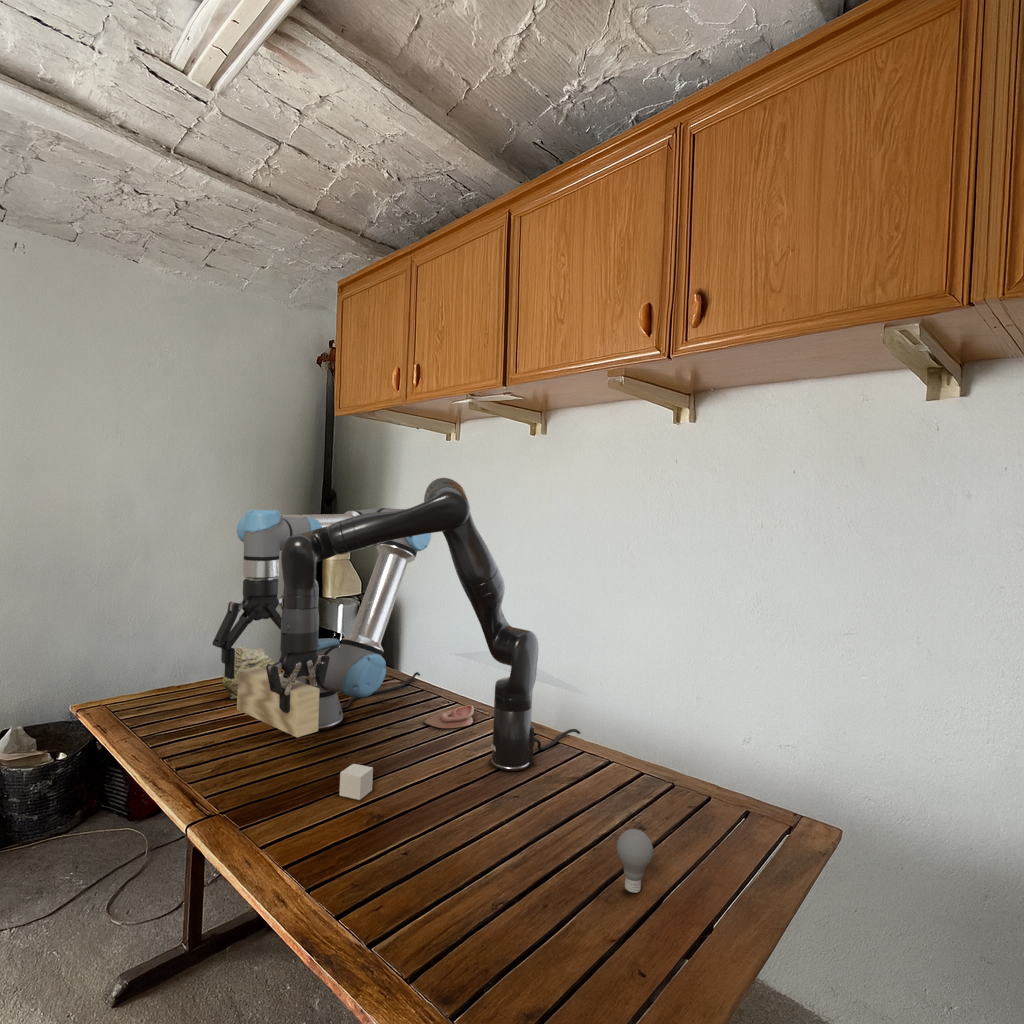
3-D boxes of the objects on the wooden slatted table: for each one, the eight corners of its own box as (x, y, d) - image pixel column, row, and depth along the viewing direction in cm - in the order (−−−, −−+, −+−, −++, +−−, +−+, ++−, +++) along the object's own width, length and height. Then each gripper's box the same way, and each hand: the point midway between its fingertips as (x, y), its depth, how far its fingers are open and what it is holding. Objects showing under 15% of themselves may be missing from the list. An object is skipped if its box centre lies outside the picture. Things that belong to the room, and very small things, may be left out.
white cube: (352, 785, 139) (353, 763, 139) (372, 790, 138) (373, 767, 138) (339, 795, 135) (340, 772, 135) (359, 800, 133) (360, 776, 133)
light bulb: (610, 879, 108) (613, 822, 108) (644, 879, 109) (647, 822, 109) (619, 902, 102) (622, 840, 102) (655, 901, 103) (658, 840, 103)
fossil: (218, 695, 195) (220, 647, 195) (278, 685, 208) (279, 640, 207) (228, 703, 189) (230, 653, 188) (289, 692, 201) (290, 645, 201)
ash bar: (236, 709, 144) (238, 670, 144) (257, 704, 148) (258, 666, 147) (296, 737, 129) (298, 693, 129) (318, 731, 133) (319, 688, 132)
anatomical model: (421, 711, 177) (434, 699, 188) (420, 725, 177) (433, 712, 188) (466, 717, 174) (477, 704, 186) (466, 731, 174) (476, 717, 186)
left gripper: (300, 572, 155) (298, 658, 155) (197, 580, 135) (194, 679, 136) (318, 575, 150) (316, 664, 151) (214, 585, 131) (211, 686, 131)
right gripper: (319, 621, 141) (316, 697, 141) (258, 629, 129) (255, 712, 130) (339, 626, 136) (336, 705, 136) (278, 635, 125) (275, 721, 125)
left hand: (258, 671), depth 143 cm, fingers open, 13 cm apart
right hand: (297, 708), depth 133 cm, fingers closed on ash bar, 5 cm apart
